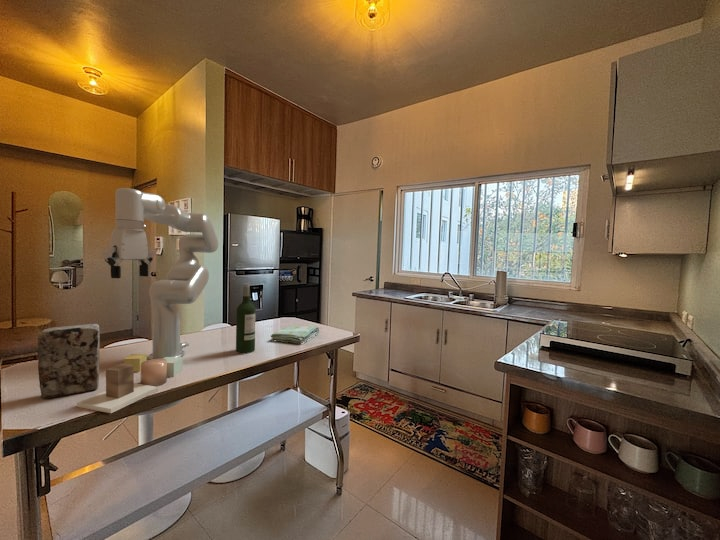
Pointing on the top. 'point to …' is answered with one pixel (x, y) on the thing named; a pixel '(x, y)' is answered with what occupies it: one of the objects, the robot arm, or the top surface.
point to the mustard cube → (135, 361)
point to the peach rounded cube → (154, 372)
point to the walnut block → (119, 380)
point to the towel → (295, 334)
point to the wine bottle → (245, 324)
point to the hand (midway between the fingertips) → (130, 277)
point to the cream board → (116, 399)
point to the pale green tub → (174, 365)
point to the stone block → (68, 359)
